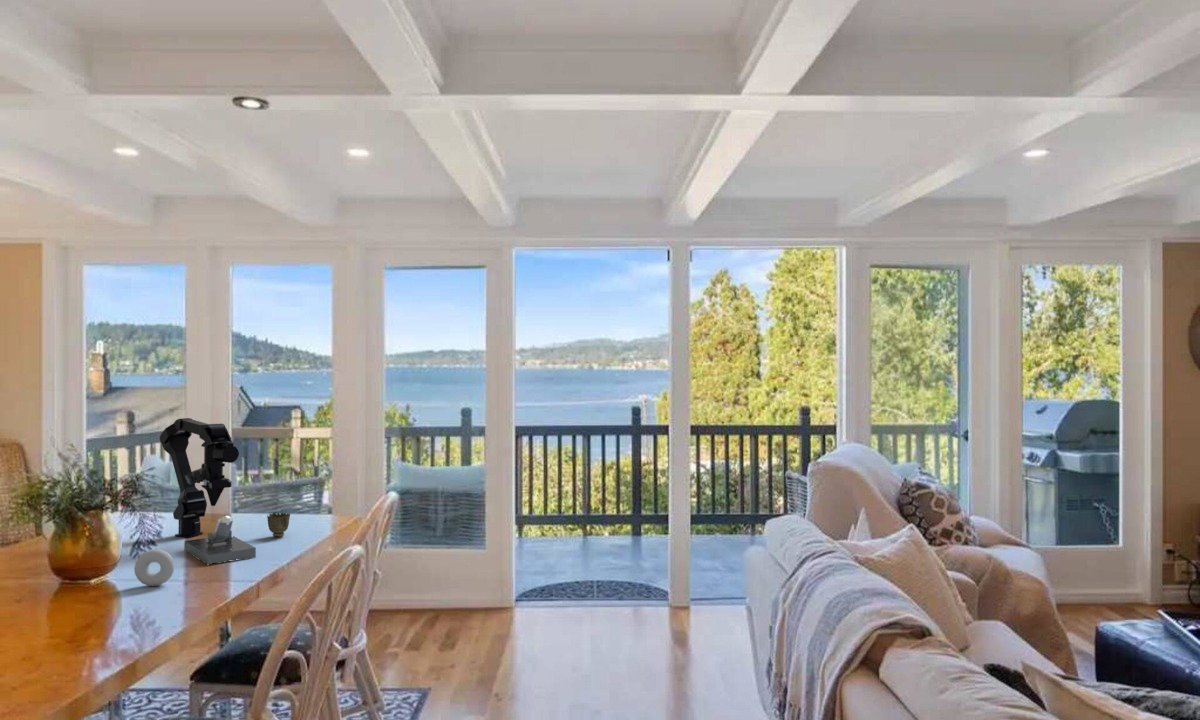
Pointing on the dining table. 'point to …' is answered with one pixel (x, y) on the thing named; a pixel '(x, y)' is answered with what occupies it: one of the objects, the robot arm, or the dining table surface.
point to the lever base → (219, 549)
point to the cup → (278, 523)
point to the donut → (151, 578)
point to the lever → (222, 529)
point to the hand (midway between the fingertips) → (213, 505)
